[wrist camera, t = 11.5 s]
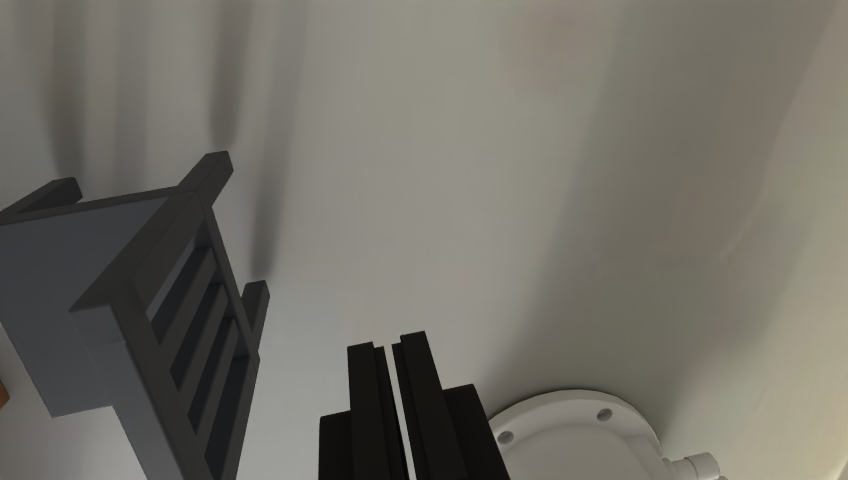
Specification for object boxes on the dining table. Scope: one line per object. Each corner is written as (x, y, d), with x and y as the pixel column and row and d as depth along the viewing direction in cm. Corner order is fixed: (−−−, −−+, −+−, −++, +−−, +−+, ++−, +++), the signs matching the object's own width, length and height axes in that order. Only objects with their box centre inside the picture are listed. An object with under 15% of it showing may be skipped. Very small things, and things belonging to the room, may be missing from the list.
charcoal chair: (229, 146, 22) (110, 302, 10) (273, 297, 24) (220, 557, 13) (47, 178, 21) (-308, 383, 9) (114, 329, 24) (-95, 632, 12)
